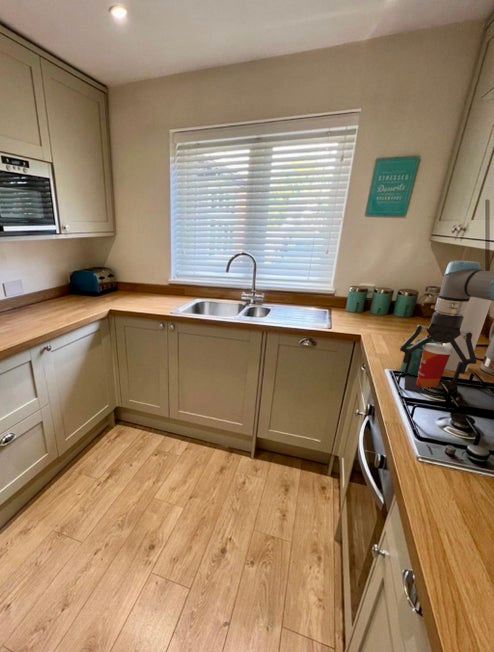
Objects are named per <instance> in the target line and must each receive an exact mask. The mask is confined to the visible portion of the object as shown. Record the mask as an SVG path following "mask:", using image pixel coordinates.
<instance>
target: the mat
mask: <svg viewBox="0 0 494 652" xmlns="http://www.w3.org/2000/svg"><path fill="white" fill-rule="evenodd" d="M416 382H417V377H414V376H409V375H404V386H403V387H404V388H403V389H404V390H405V391H410V392H415V393H418V394H423V395H427V396H431V395H432V396H433V397H436V396H440V395H437V394H434V393H431V392H428V391H425V390H423V389H422V388H421V387H419V386H417V384H416ZM432 396H431V397H432Z"/></svg>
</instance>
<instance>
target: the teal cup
mask: <svg viewBox="0 0 494 652" xmlns="http://www.w3.org/2000/svg"><path fill="white" fill-rule="evenodd" d="M414 344H415V343H411V344H410V345H409V346H408V347H407V349H408V348H409V347H411V346H412V345H414ZM423 347H424V345H423V346H421V347H419V348H418V349H416V350H415V351H413V352H412V358H411V361H410V365H409V368H408V372H407V373H409V374H411V375H415V376H416V375H417V376H418V372H419V367H420V363H421V358H422V354H423ZM403 353H404V352H403ZM404 356H405V353H404V354H403V356H402V360H401V365H400V369H399V372H400V371H401V372H400V373H402V372H404V370H405V367H406V363H404V362H403V359H404Z"/></svg>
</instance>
